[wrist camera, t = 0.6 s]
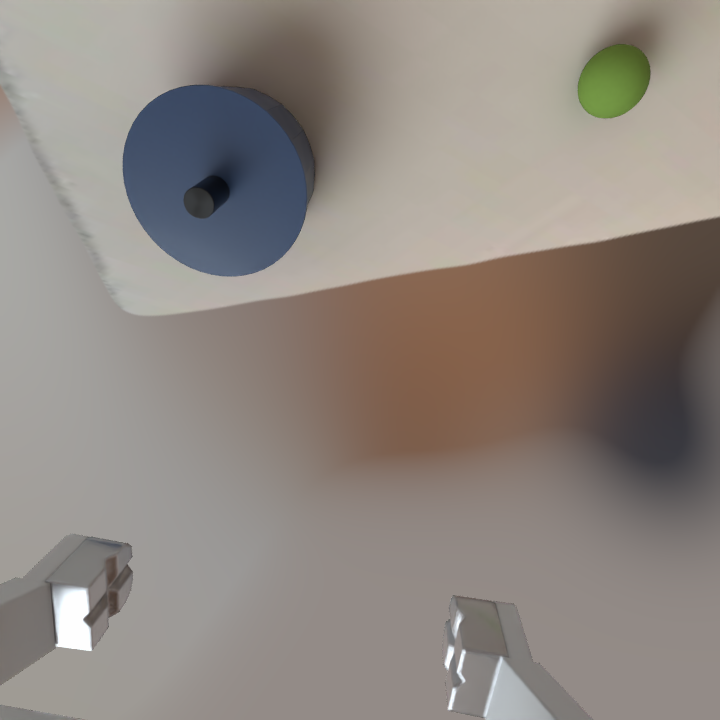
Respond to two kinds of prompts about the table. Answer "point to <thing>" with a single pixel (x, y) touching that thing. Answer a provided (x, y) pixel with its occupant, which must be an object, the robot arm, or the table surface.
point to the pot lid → (215, 180)
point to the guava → (614, 81)
